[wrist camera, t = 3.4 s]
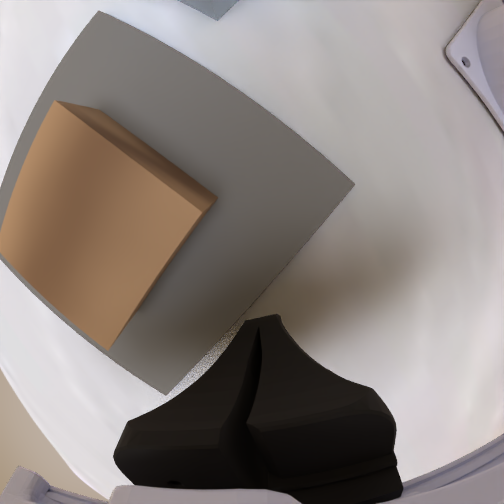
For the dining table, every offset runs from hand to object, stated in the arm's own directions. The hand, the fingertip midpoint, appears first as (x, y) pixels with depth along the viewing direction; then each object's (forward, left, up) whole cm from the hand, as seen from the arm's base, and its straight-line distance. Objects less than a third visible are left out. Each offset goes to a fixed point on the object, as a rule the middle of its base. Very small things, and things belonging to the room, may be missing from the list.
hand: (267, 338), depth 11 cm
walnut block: (+8, 0, -1) cm, 8 cm away
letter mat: (+8, 0, -1) cm, 8 cm away
